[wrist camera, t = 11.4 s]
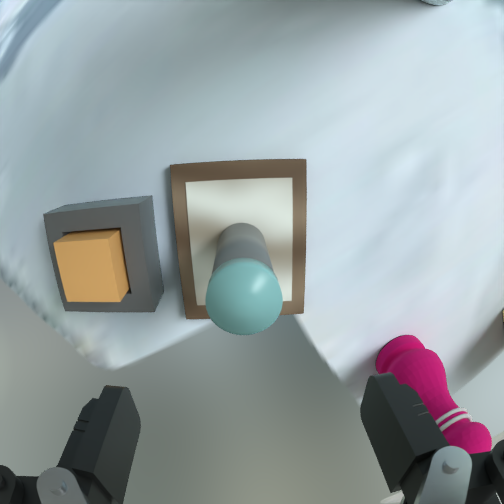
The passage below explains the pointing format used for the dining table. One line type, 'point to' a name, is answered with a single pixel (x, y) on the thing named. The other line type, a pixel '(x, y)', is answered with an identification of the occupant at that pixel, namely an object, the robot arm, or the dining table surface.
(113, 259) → the button
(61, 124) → the dining table surface
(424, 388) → the pepper mill
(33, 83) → the dining table surface
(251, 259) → the marker
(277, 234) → the board
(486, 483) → the robot arm
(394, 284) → the dining table surface
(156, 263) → the button housing
